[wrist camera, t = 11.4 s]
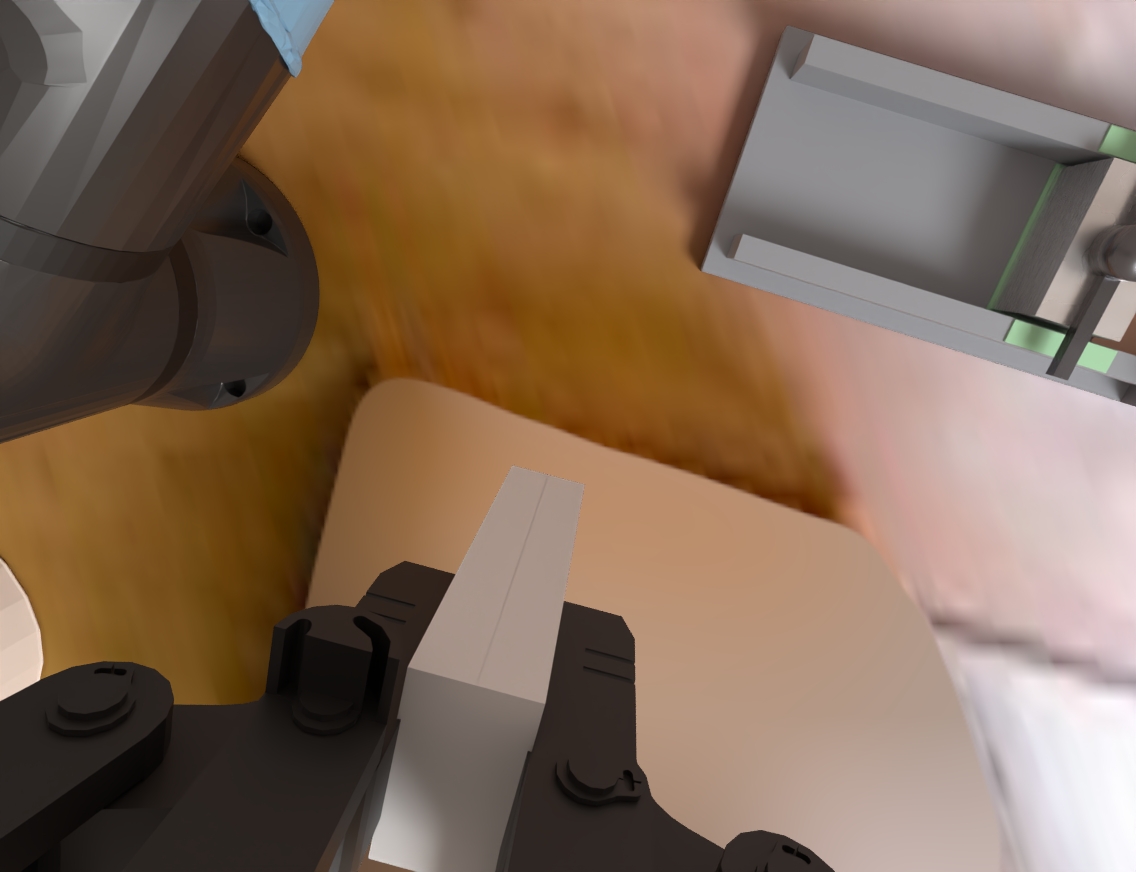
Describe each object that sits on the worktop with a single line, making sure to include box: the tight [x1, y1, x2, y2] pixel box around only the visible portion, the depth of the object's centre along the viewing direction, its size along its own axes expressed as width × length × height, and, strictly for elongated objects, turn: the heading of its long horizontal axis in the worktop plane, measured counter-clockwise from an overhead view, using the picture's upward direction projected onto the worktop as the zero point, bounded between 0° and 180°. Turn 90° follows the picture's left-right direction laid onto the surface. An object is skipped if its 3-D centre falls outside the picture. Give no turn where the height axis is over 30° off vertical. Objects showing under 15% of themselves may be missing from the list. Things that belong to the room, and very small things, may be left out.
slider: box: [991, 158, 1136, 381], centre depth 30 cm, size 4×12×6 cm, turn 163°
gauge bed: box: [700, 25, 1136, 406], centre depth 31 cm, size 26×12×7 cm, turn 73°
